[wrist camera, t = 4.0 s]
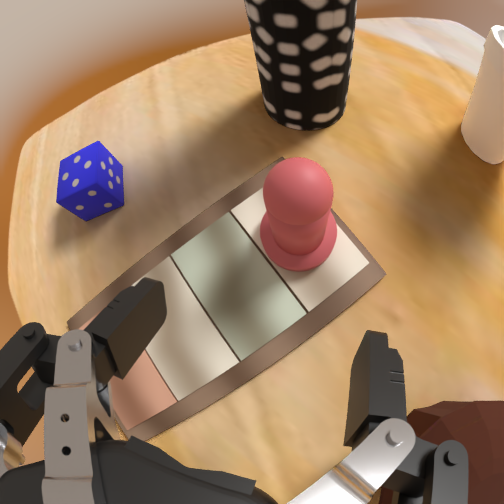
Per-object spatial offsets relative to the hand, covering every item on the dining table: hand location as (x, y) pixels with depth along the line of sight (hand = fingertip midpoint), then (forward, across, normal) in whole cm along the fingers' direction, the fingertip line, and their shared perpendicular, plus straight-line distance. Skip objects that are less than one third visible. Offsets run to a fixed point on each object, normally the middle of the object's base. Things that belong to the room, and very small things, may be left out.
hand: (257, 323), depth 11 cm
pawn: (+12, 0, +2) cm, 13 cm away
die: (+14, +20, +2) cm, 24 cm away
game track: (+8, +6, +8) cm, 13 cm away
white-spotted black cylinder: (+24, +2, -8) cm, 25 cm away
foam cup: (+24, -19, -8) cm, 32 cm away
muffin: (+3, -15, +14) cm, 20 cm away
